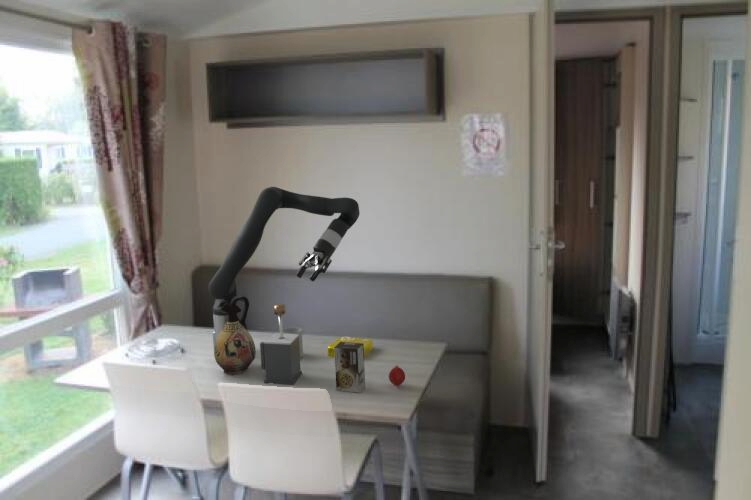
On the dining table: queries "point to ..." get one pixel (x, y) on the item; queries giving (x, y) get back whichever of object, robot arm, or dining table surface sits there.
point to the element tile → (366, 342)
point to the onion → (396, 376)
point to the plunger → (280, 316)
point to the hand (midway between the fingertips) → (304, 278)
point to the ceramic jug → (234, 339)
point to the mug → (295, 331)
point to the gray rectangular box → (281, 359)
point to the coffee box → (349, 367)
